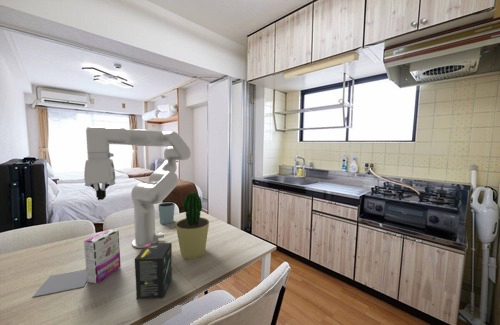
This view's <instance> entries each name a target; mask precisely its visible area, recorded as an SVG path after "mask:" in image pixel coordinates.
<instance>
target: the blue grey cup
mask: <svg viewBox="0 0 500 325" xmlns="http://www.w3.org/2000/svg"><path fill="white" fill-rule="evenodd" d="M175 205H176V204H175V203H174V202H169V201H168V202H160V203H158V205H157V206H158V213H159V214H158V215H159V223H160V224H161V225H169V224H172V223H174V215H175Z"/></svg>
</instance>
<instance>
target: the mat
mask: <svg viewBox="0 0 500 325" xmlns="http://www.w3.org/2000/svg"><path fill="white" fill-rule="evenodd" d="M87 283H88V282H87V273H86V269H80V270H75V271H68V272H64V273H59V274H58V273H57V274H54V275H50V276H48V278H47V279H46V280H45V281H44V283H43V284H42V285H41V286H40V287H39V289H38V290H37V291H36V292H35V293H34V294H33V295H32V298H36V297H37V298H38V297H41V296H46V295H51V294H57V293H61V292H66V291H67V292H68V291H70V290H71V291H72V290H76V289H81V288H84V287H85V285H86V284H87Z"/></svg>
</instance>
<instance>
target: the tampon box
mask: <svg viewBox="0 0 500 325" xmlns="http://www.w3.org/2000/svg"><path fill="white" fill-rule="evenodd" d="M172 248H173V246H172V242H157V243H148V244H147V245H146V246H145V247H144V248H142V250H141V251H140V252H139V253H138V254H137V255H136V257H134V271H135V272H134V273H135V275H134V276H135V292H136V293H135V295H136V298H135V299H136V300H140V299H141V300H144V299H164V298H165V295H166V294H167V291H168V290H169V287H170V284H171V282H172V279H173V265H172V264H173V263H172V262H173V257H172V254H173V252H172Z"/></svg>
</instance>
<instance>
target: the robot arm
mask: <svg viewBox="0 0 500 325" xmlns="http://www.w3.org/2000/svg"><path fill="white" fill-rule="evenodd" d="M85 134H86V136H85V137H86V149H87V151H86V152H87V159H86V160H85V164H84V175H83V176H84V178H83V179H84V186H85V187H89V188H92V189H93V190H94V191H95V193H96V194H95V196H96V198H97V200H98V201H100V200H101V201H103V200H104V199H105V198H106V197H107V193H106V190H107V188H109V187H111V186H114V185H115V184H116V169H115V165H114V160H113V159H112V158H113V157H114V154H115V153H111V152H110V145H121V146H122V145H126V146H127V145H128V146H137V147H162V148H163V147H166V148H165V149H164V152H163V162H162V164H161V165H160V166H158V168H156V170H154V171H153V172H152V173H151V174H150V175H149V177H148V183H146V182H140V183H137V184H135V185H134V186H133V187H132V188H131V200H132V204H133V213H134V215H133V216H134V239H133V240H132V242H131V246H132V247H133V248H137V249H144V247H145V246H146V245H147V244H148V243H159V239H163V238H165V233H162V232H159V233H158V232H157V231H156V216H155V215H156V214H155V213H156V212H155V205H157V204H158V205H159V204H161V203H163V201H164V200H165V199H166V198H167V197H168V196H169V195H170V194H171V192H172V191H173V190H174V189H175V188H176V186H177V185H178V180H179V177H178V175H177V173H176V171H177V161H187V160H188V159H190V157H191V155H192V154H191V153H192V152H191V149H190V147H189V146H188V144H187V143H186V142H185V140H184V139H183V138H182V137H181V135H180V134H178V133H177V132H176V131H172V130H171V131H170V130H169V131H167V130H165V131H163V130H152V129H142V128H141V129H140V128H139V129H136V128H135V129H125V128H123V127H121V126H120V127H119V126H118V127H116V126H115V127H106V126H97V125H96V126H87V127H86V129H85Z"/></svg>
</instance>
